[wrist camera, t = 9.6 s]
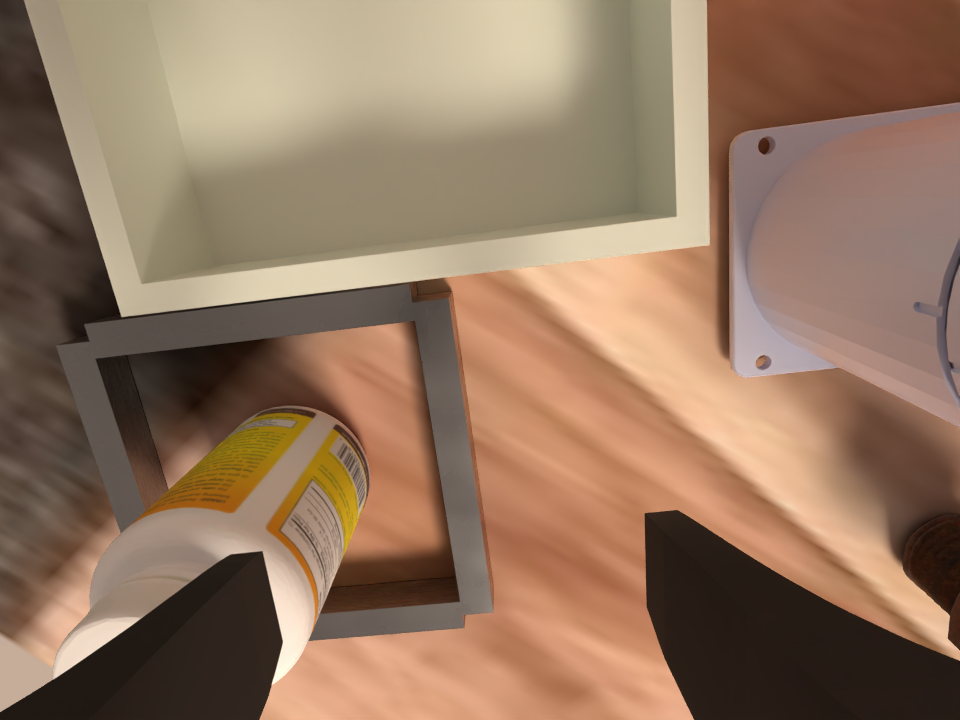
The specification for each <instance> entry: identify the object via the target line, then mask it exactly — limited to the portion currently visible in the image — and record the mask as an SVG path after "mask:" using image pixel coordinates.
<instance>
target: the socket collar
mask: <svg viewBox="0 0 960 720" xmlns="http://www.w3.org/2000/svg"><path fill="white" fill-rule="evenodd" d="M410 321H415V324H416V330H417V337H418V343H419V349H420V355H421V361H422V368H423V374H424V380H425V386H426V392H427V399H428V405H429V411H430V417H431V423H432V430H433V436H434V442H435V448H436V454H437V461H438V467H439V473H440V479H441V486H442V492H443V498H444V504H445V510H446V517H447V523H448V529H449V535H450V541H451V548H452V554H453V560H454V566H455V572H456V577H450V578H438V579H427V580H416V581H405V582H393V583H382V584H371V585H360V586H348V587H337V588H330V590H329V592H328V595H327V597H326V600H325V602H324V605H323V607H322V609H321V612H320V614H319V617H318V619H317V621H316V624H315V626H314V629H313V632H312V634H311V636H310V638H309V640H308V641H313V640H325V639H337V638H349V637H361V636H373V635H385V634H397V633H409V632H421V631H433V630H445V629H457V628H464V627H465V615H469V614H481V613H493V604H494V585H493V578H492V571H491V564H490V557H489V550H488V542H487V535H486V528H485V521H484V514H483V507H482V500H481V493H480V485H479V478H478V471H477V464H476V457H475V450H474V443H473V435H472V428H471V421H470V414H469V407H468V400H467V393H466V385H465V378H464V371H463V364H462V357H461V350H460V343H459V335H458V328H457V321H456V314H455V307H454V300H453V293H452V291H448V292H439V293H431V294H423V295H418V290H417V284H416V281H412V282H404V283H396V284H388V285H380V286H371V287H363V288H355V289H347V290H339V291H331V292H322V293H314V294H306V295H298V296H290V297H282V298H273V299H265V300H257V301H249V302H241V303H233V304H224V305H216V306H208V307H200V308H192V309H184V310H175V311H167V312H159V313H151V314H143V315H135V316H126V317H121V314H118V315H112V316H109V317H106V318H103V319H99V320H96V321H93V322H90V323H86V324H84V326H85V329H86V332H87V335H86V336H83V337H80V338H77V339H74V340H71V341H68V342H65V343H62V344H59V345H56V347H57V350H58V353H59V356H60V359H61V362H62V364H63V367H64V370H65V373H66V376H67V379H68V382H69V385H70V388H71V390H72V393H73V396H74V399H75V402H76V405H77V408H78V411H79V414H80V416H81V419H82V422H83V425H84V428H85V431H86V434H87V437H88V439H89V442H90V445H91V448H92V451H93V454H94V457H95V460H96V463H97V465H98V468H99V471H100V474H101V477H102V480H103V483H104V486H105V489H106V491H107V494H108V497H109V500H110V503H111V506H112V509H113V512H114V515H115V517H116V520H117V523H118V526H119V529H120V532H121V533H122V532H123V531H124V530H125V529H126V528H127V527H128V526H129V525H131V524H132V523H133V522H134V521H135V520H136V519H137V518H138V517H140V516H141V515H142V514H143V513H144V512H145V511H146V510H147V509H148V508H150V507H151V506H152V505H153V504H154V503H155V502H156V501H157V500H158V499H159V498H161V497H162V496H163V495H164V494H165V493H166V492H167V491H168V488H167V485H166V481H165V478H164V475H163V472H162V468H161V465H160V462H159V459H158V456H157V452H156V449H155V446H154V443H153V440H152V436H151V433H150V430H149V427H148V424H147V420H146V417H145V414H144V411H143V408H142V404H141V401H140V398H139V395H138V392H137V388H136V385H135V382H134V379H133V376H132V372H131V369H130V366H129V363H128V360H127V356H126V355H130V354H139V353H147V352H156V351H164V350H173V349H181V348H190V347H198V346H206V345H215V344H223V343H232V342H240V341H249V340H257V339H266V338H274V337H283V336H291V335H300V334H308V333H317V332H325V331H334V330H342V329H350V328H359V327H367V326H376V325H384V324H393V323H401V322H410Z"/></svg>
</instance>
